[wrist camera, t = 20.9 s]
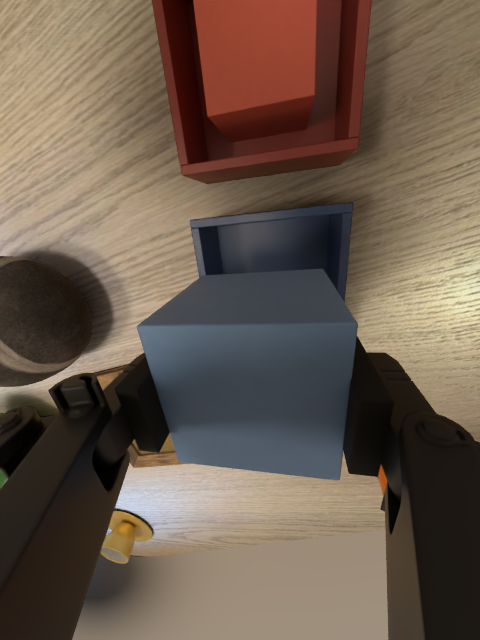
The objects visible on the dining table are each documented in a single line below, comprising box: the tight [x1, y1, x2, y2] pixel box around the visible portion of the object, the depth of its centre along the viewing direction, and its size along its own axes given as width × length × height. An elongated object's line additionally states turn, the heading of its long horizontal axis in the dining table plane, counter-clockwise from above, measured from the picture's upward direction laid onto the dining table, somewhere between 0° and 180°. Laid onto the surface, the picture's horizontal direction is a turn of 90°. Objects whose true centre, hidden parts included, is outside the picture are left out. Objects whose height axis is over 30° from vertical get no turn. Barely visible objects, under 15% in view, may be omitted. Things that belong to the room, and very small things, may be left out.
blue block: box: [137, 269, 358, 480], centre depth 10 cm, size 6×6×6 cm
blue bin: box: [190, 202, 353, 301], centre depth 21 cm, size 11×11×6 cm
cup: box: [100, 511, 152, 563], centre depth 51 cm, size 12×12×5 cm
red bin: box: [152, 0, 371, 184], centre depth 15 cm, size 11×11×6 cm
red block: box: [193, 0, 317, 143], centre depth 14 cm, size 6×6×6 cm
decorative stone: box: [0, 256, 92, 387], centre depth 26 cm, size 19×14×10 cm
